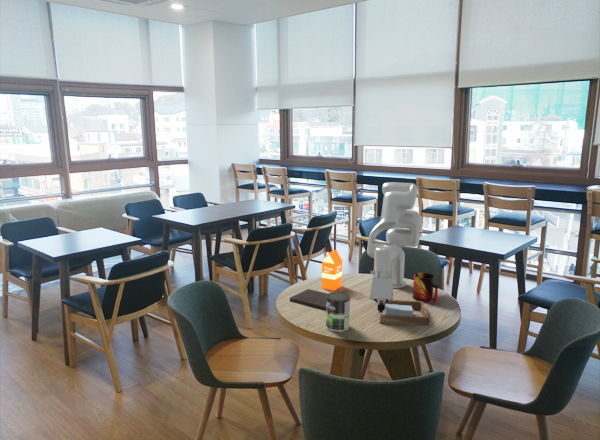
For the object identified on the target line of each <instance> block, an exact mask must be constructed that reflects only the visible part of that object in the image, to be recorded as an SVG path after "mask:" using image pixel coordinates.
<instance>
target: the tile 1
mask: <svg viewBox="0 0 600 440" xmlns="http://www.w3.org/2000/svg"><path fill="white" fill-rule="evenodd" d="M384 315H396V316H399V305H396V304H385V308H384Z"/></svg>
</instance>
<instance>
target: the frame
mask: <svg viewBox="0 0 600 440" xmlns="http://www.w3.org/2000/svg"><path fill="white" fill-rule="evenodd" d="M382 300H383V299H380V302H381V303H382ZM385 304H396V305H408V306H412V309H413V310H420V312H421V316H417V315H416V316H415V315H413V316H396V315H385V314H379V316H380V317H379V324H384V325H385V324H386V325H387V324H389V325H405V326H407V325H408V326H409V325H410V326H425V327H426V326H427V327H428V326H430V316H429V314H428V311H427V308H426V306H425V302H423V301H417V300H403V299H402V300H400V299H399V300H398V299H396V300H395V299H393V300H392V301H388V302H387V303H385ZM384 309H385V305H384Z"/></svg>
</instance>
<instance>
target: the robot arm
mask: <svg viewBox="0 0 600 440" xmlns="http://www.w3.org/2000/svg"><path fill="white" fill-rule="evenodd" d="M381 192H382V194H383V199H382V206H381V207H382V208H381V215H380V220H379V222H378V223H377V224H376V225H374V227H373V228H372V230H371V231H370V233H369V236H368V240H367V249H366V252H367V256H368V257H370V258H372V259H374V263H373V270H370V274H372V275H371V276H372V277H371V279H370V281H371V282H370V295H369V300H370V301H374V302H375V303H376V304H377V311H378V313H379V314H383V312H385V308H384V305H385V303H387V302H388V301H392V300H394V289H401V288H402V289H403V288H405V287H406V286H407V282H406V281H404V280H405V279H404V277H405V259H406V257H405V256H406V254H405V250H403V248H402V247H407V248H416V247H418V246H419V243H420V234H421V233H420V230H421V229H420V227H421V218H420V217H421V216H420V214H419V211H417V210H412V209H413V208H414V206H415V203H416V199H417V196H418V185H416V183H413V182H400V181H399V182H397V181H391V182H390V181H388V182H384V183H383V184H382V186H381ZM386 230H387V231H386ZM383 231H386V233H385V241H386V242H381V241H375V240H376V238H377V236H378V235H379V234H380V233H381V232H383ZM380 300H382V303H381V302H380Z"/></svg>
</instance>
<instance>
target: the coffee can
mask: <svg viewBox="0 0 600 440" xmlns="http://www.w3.org/2000/svg"><path fill="white" fill-rule="evenodd" d="M350 306H351V295H350V294H348V293H346V292H341V291H333V292H329V293H327V295H326V311H325V312H326V313H325V328H326V329H327V330H328V331H332V332H335V333H336V332H337V333H340V332H345V331H348V330H349V328H350V308H351V307H350Z"/></svg>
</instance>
